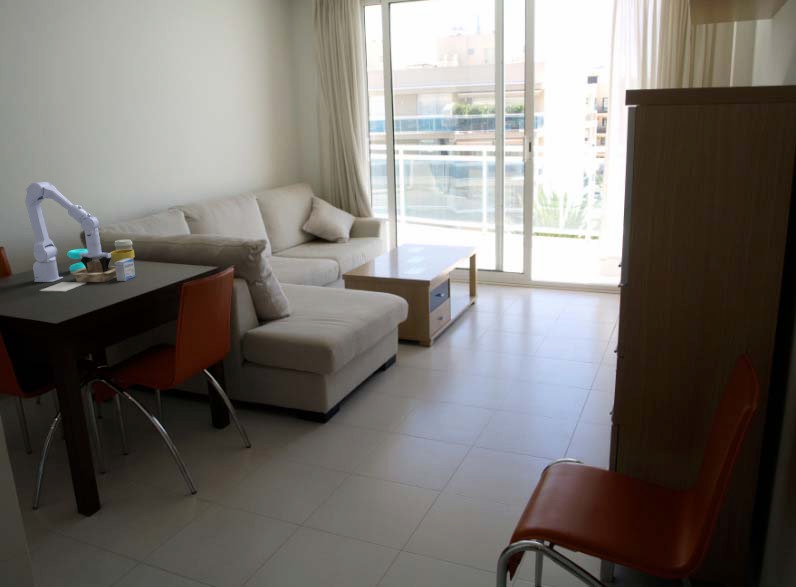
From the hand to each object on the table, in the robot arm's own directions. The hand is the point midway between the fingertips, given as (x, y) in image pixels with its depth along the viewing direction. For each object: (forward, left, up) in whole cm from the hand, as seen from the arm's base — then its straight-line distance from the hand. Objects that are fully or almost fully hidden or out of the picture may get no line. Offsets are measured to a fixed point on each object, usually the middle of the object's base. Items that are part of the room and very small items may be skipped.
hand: (98, 273), depth 308 cm
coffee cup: (-5, +29, -3) cm, 30 cm away
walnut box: (0, 0, -2) cm, 2 cm away
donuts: (-20, +15, -3) cm, 25 cm away
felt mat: (-6, -16, -2) cm, 17 cm away
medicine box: (+14, 0, -3) cm, 14 cm away
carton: (0, 0, -2) cm, 2 cm away
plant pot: (+4, +14, -3) cm, 15 cm away
